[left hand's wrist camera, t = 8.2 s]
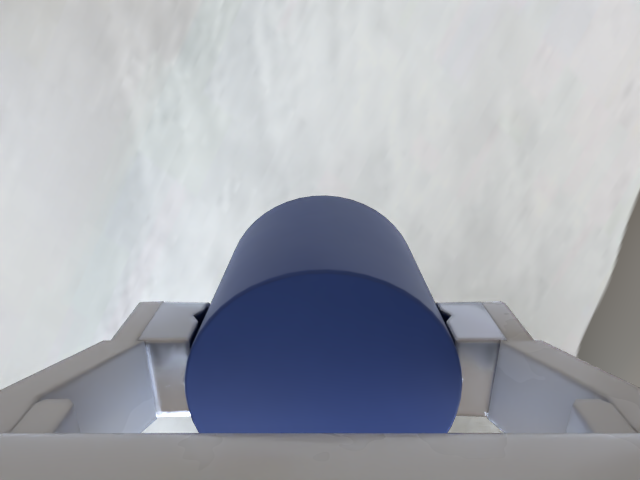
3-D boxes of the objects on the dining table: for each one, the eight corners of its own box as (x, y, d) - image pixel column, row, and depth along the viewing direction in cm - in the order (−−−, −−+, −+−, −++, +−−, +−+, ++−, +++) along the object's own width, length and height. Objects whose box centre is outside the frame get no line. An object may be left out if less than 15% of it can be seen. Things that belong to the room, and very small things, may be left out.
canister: (238, 180, 11) (191, 249, 7) (435, 211, 11) (499, 294, 7) (222, 348, 13) (177, 480, 9) (392, 371, 13) (424, 510, 9)
